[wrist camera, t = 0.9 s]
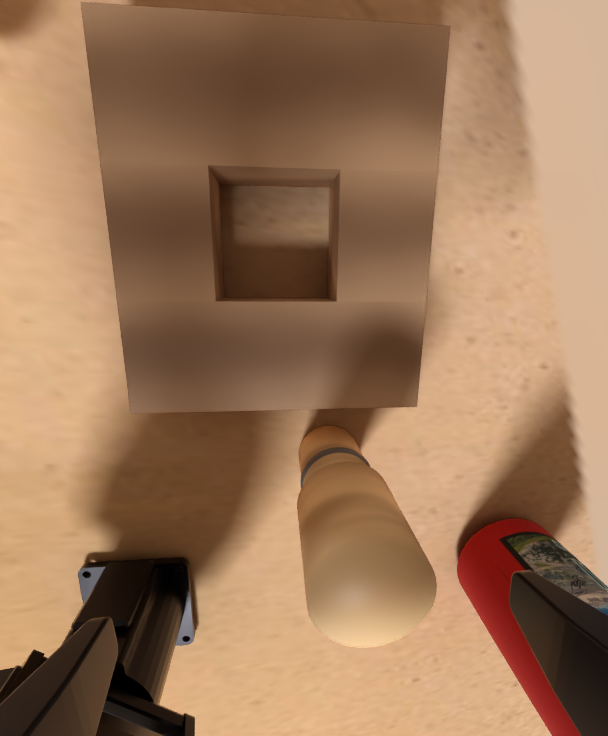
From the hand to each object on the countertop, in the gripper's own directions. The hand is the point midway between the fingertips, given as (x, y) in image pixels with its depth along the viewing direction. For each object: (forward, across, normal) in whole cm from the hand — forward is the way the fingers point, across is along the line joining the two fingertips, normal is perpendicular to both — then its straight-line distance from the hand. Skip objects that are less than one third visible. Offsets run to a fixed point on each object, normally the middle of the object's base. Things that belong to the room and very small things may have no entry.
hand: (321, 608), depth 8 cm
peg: (+13, -2, +3) cm, 14 cm away
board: (+13, 0, -9) cm, 16 cm away
